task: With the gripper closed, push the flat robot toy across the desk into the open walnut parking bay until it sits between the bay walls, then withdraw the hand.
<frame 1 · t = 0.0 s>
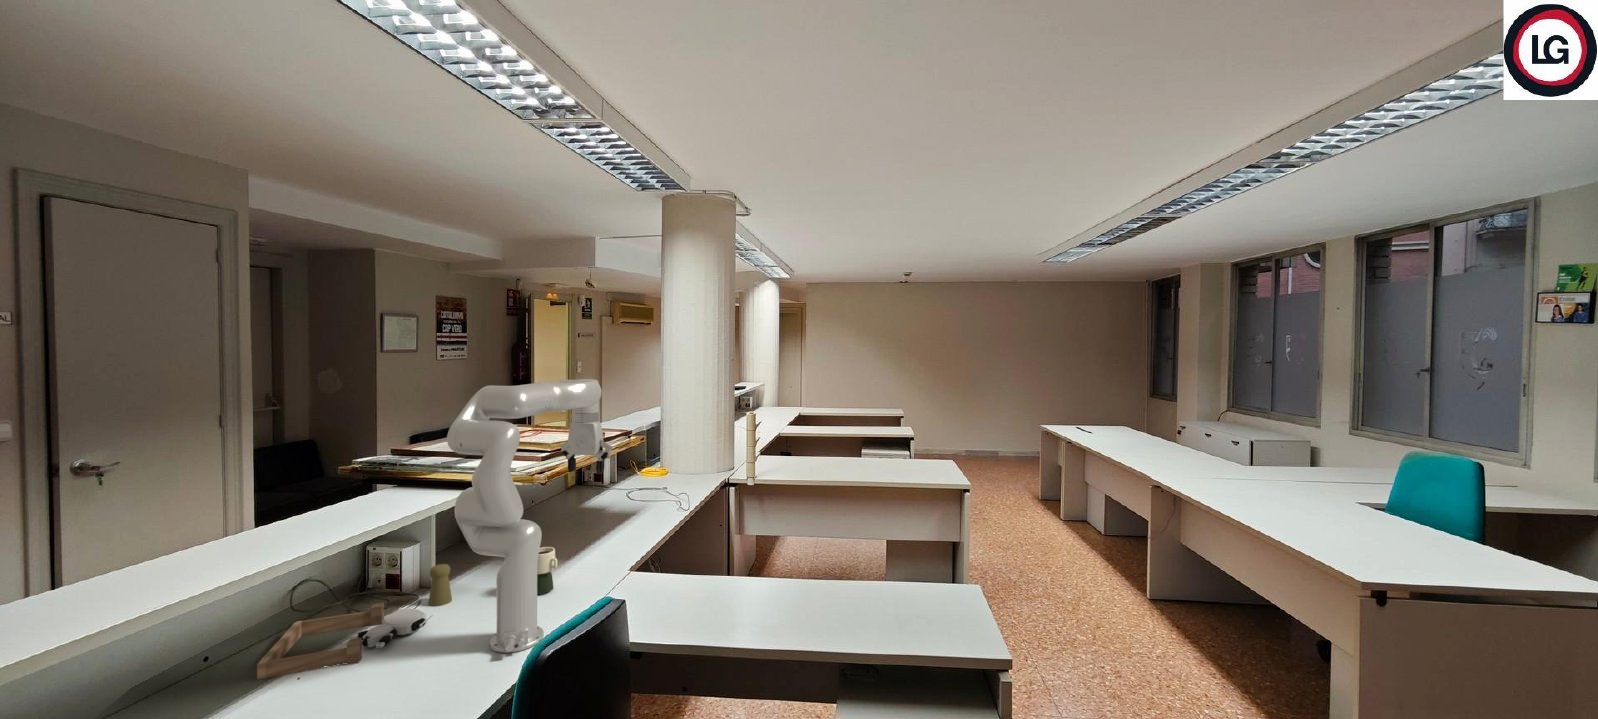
hand: (586, 472, 180), 37 cm above the table, tool pointing down, fingers open, 9 cm apart
character mug: (542, 592, 178), on the table
cork: (440, 602, 170), on the table
parking bay: (326, 647, 144), on the table
robot toy: (392, 638, 150), on the table
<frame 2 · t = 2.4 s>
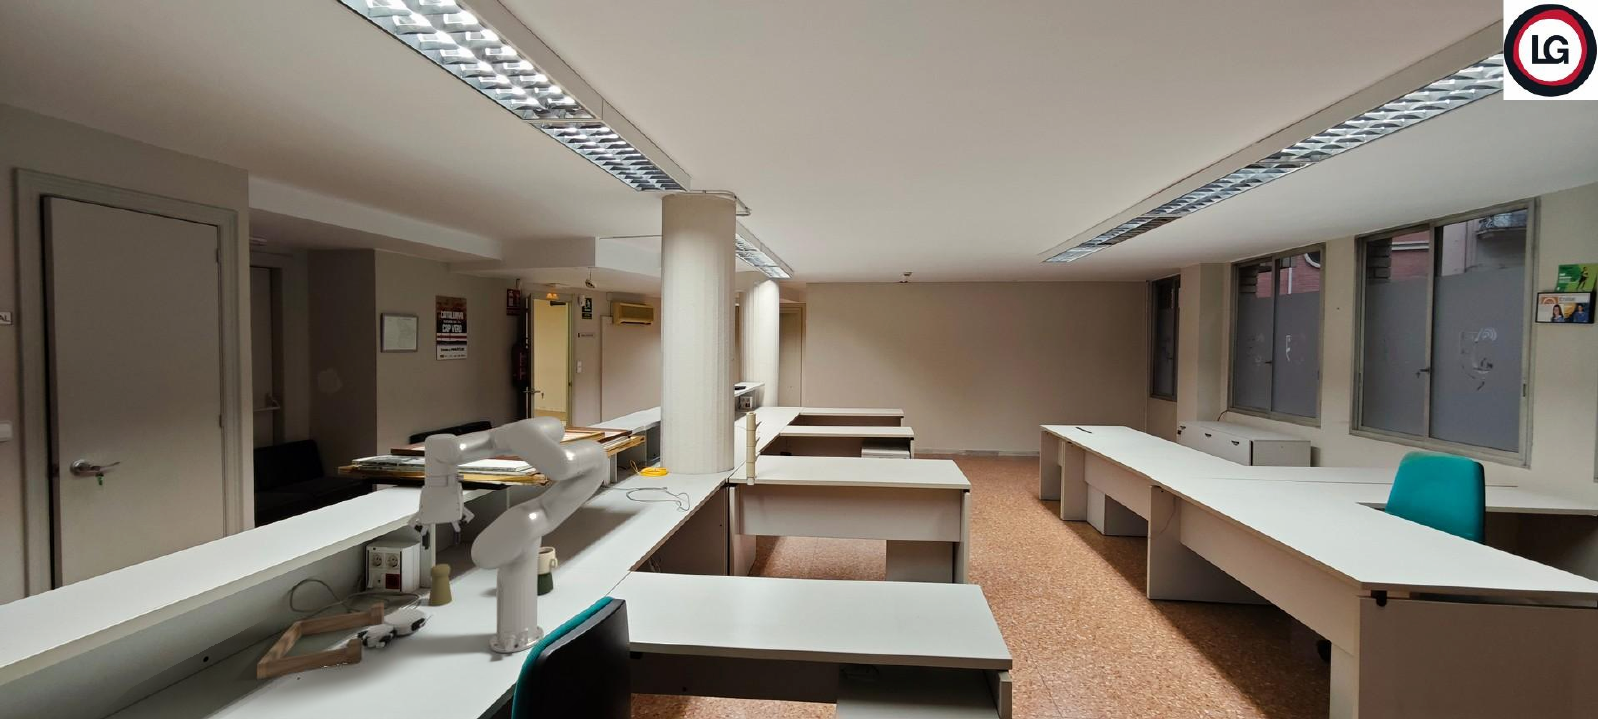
hand: (441, 546, 154), 23 cm above the table, tool pointing down, fingers open, 5 cm apart
nothing on the table moved.
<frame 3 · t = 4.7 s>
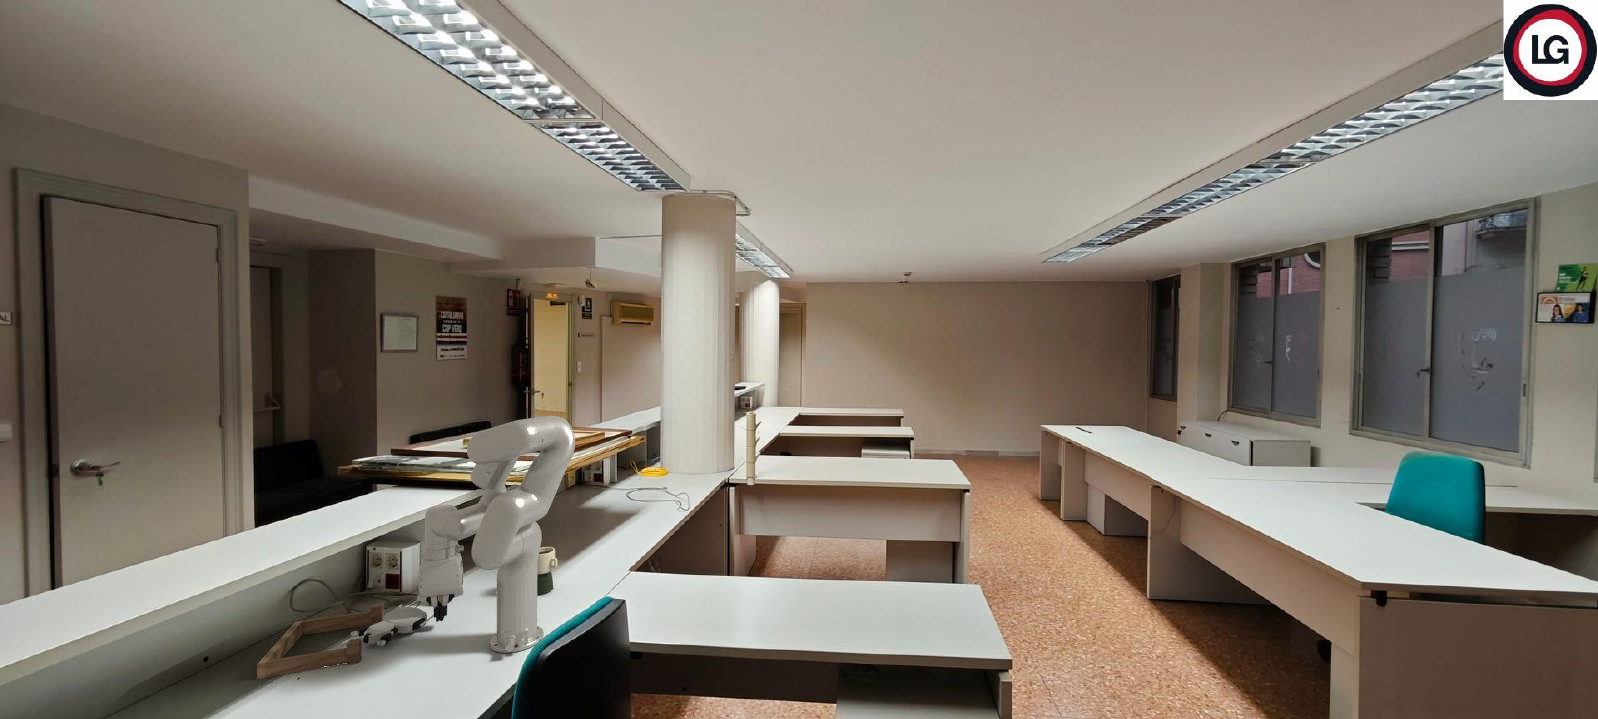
hand: (440, 618, 154), 3 cm above the table, tool pointing down, fingers closed
robot toy: (392, 635, 150), on the table, touching gripper
everything else where it was.
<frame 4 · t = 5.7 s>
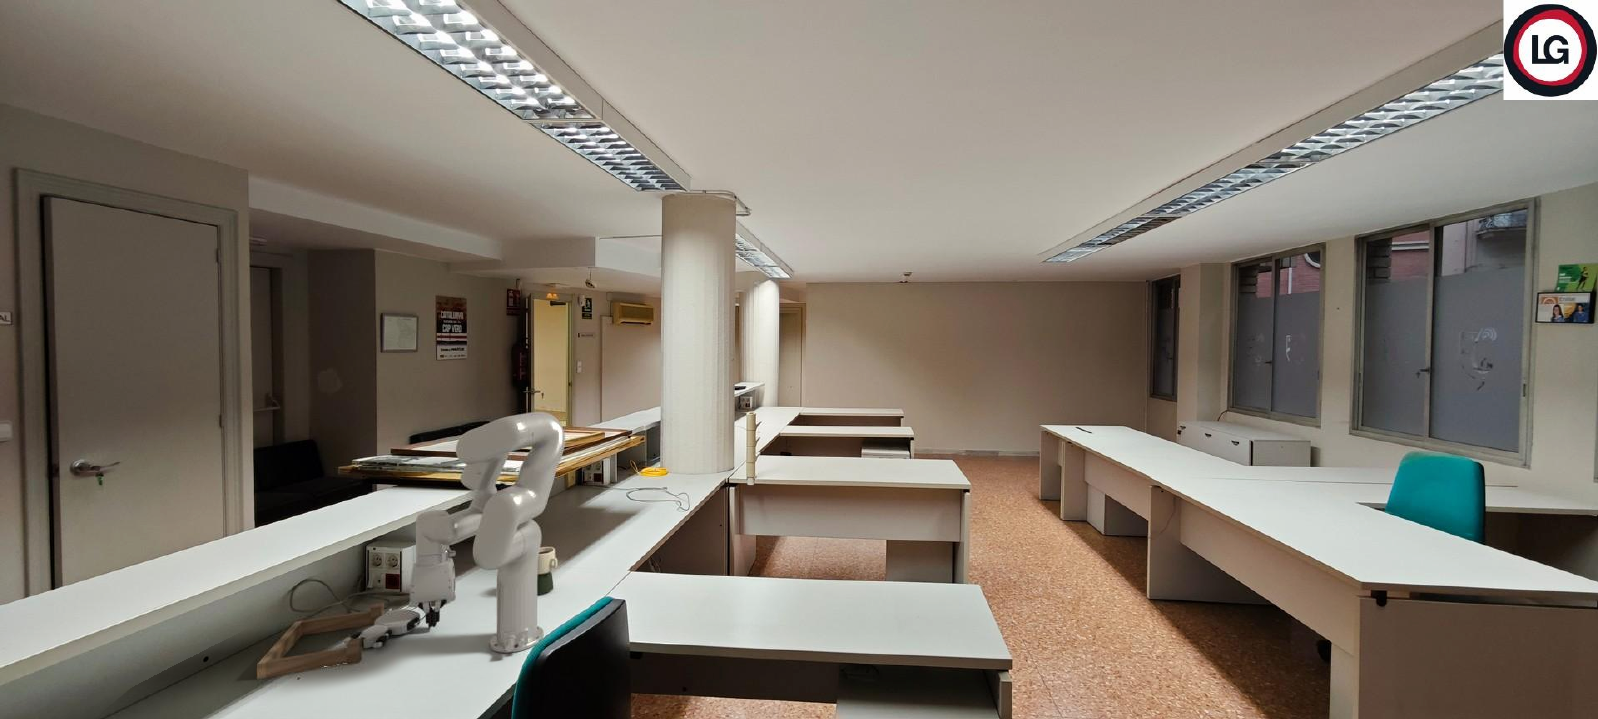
hand: (432, 624, 153), 1 cm above the table, tool pointing down, fingers closed
robot toy: (386, 638, 149), on the table, touching gripper
everything else where it was.
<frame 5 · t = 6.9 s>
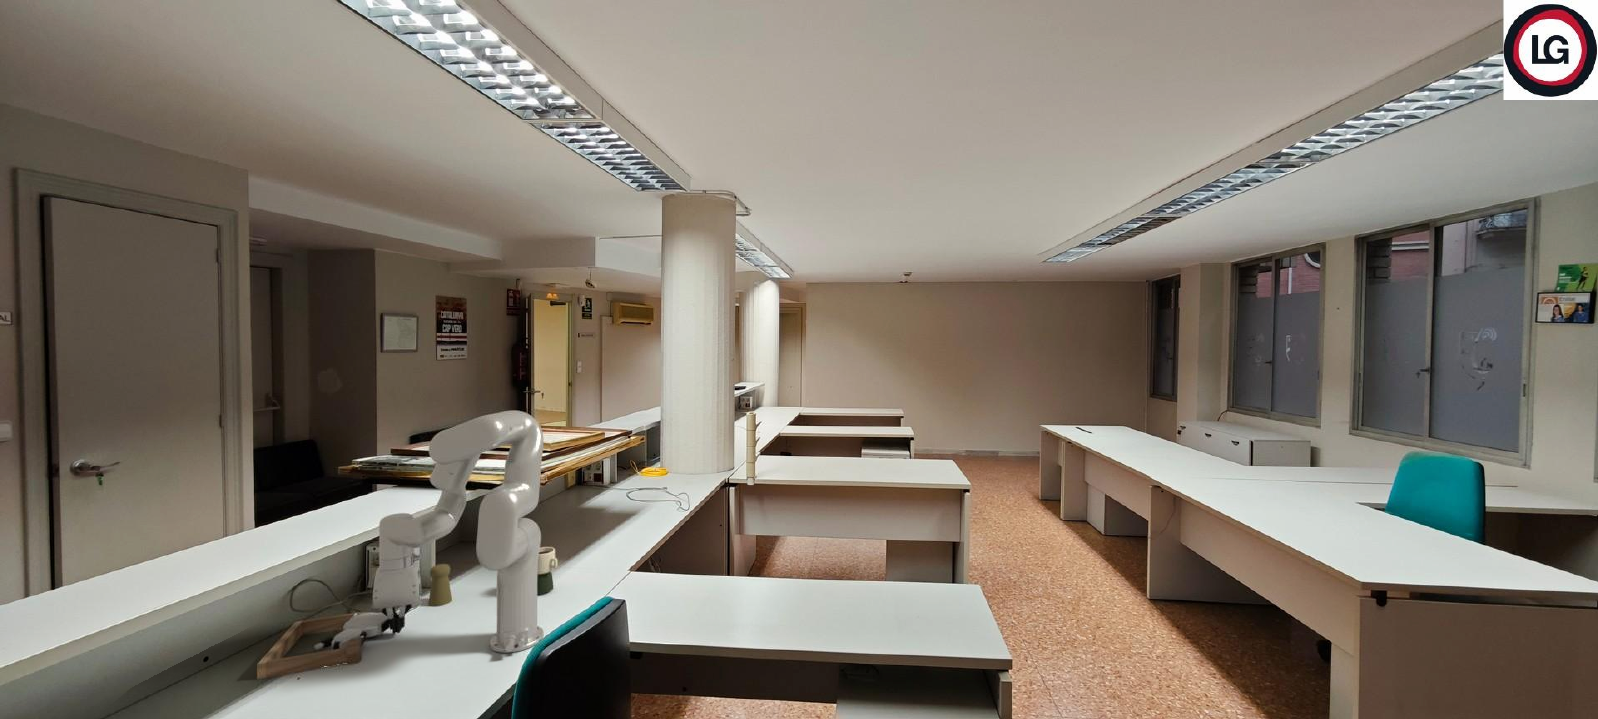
hand: (397, 630, 150), 1 cm above the table, tool pointing down, fingers closed
robot toy: (358, 642, 147), on the table, touching gripper
everything else where it was.
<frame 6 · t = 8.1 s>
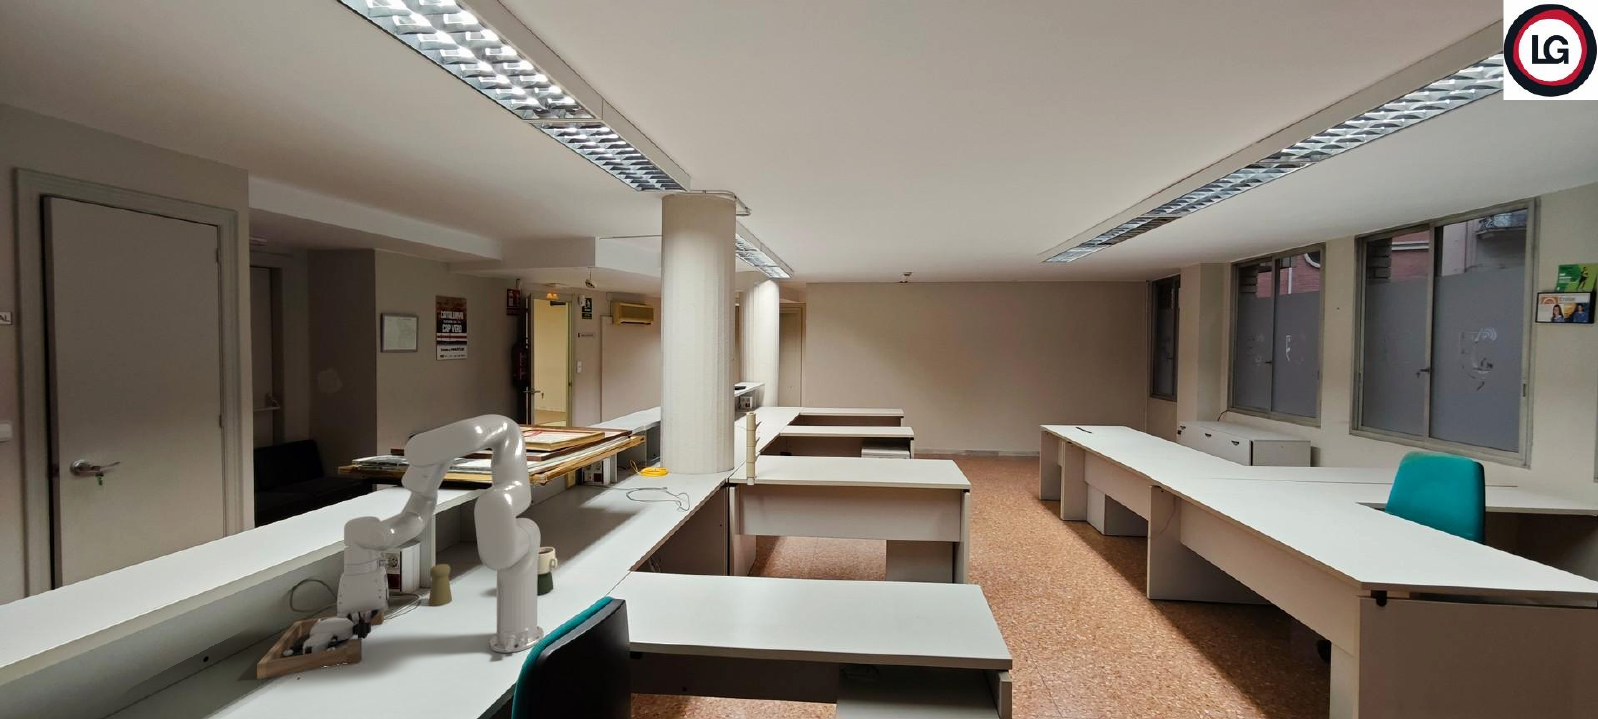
hand: (363, 636, 147), 1 cm above the table, tool pointing down, fingers closed
robot toy: (327, 646, 145), on the table, touching gripper
everything else where it was.
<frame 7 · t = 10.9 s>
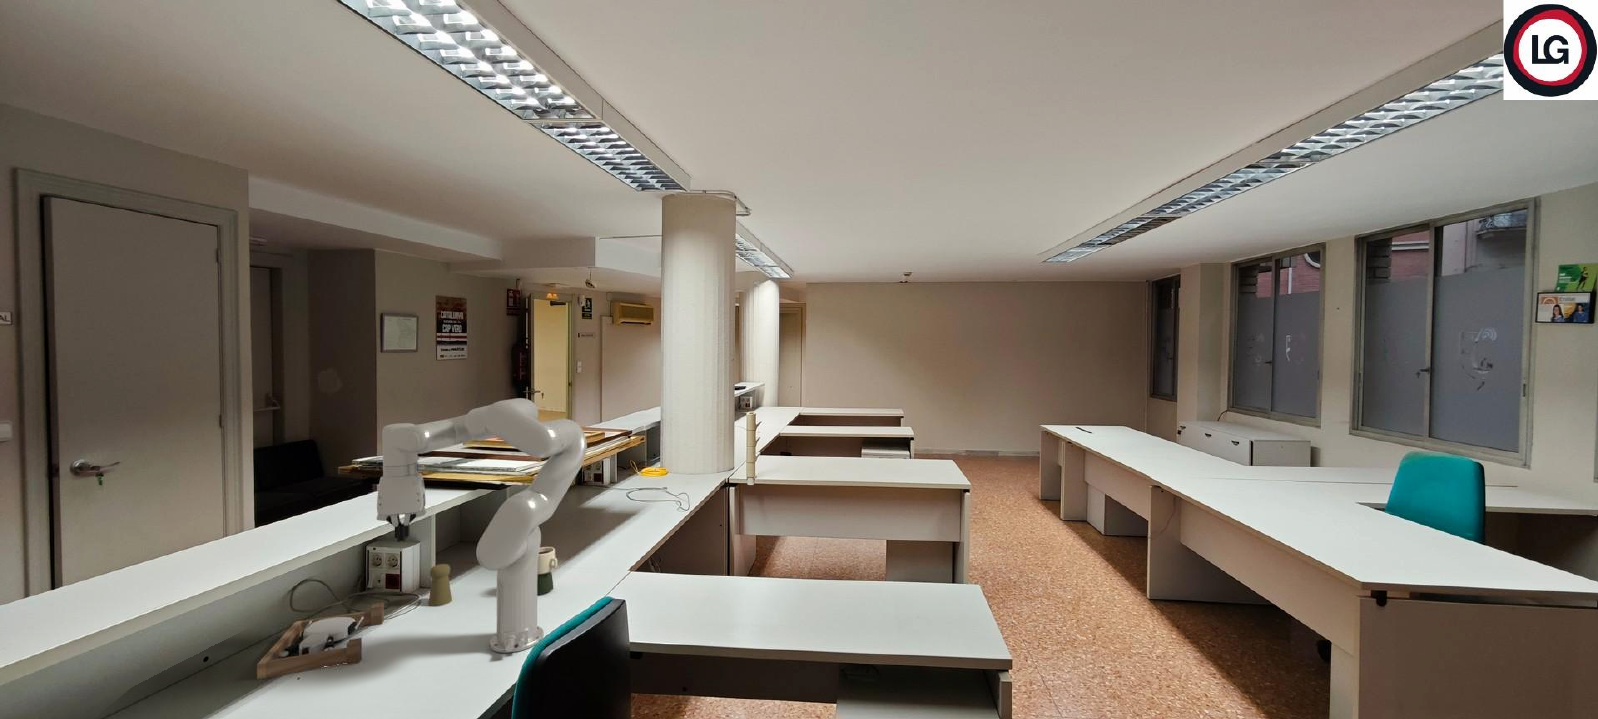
hand: (402, 539, 150), 25 cm above the table, tool pointing down, fingers closed
robot toy: (322, 647, 145), on the table
everything else where it was.
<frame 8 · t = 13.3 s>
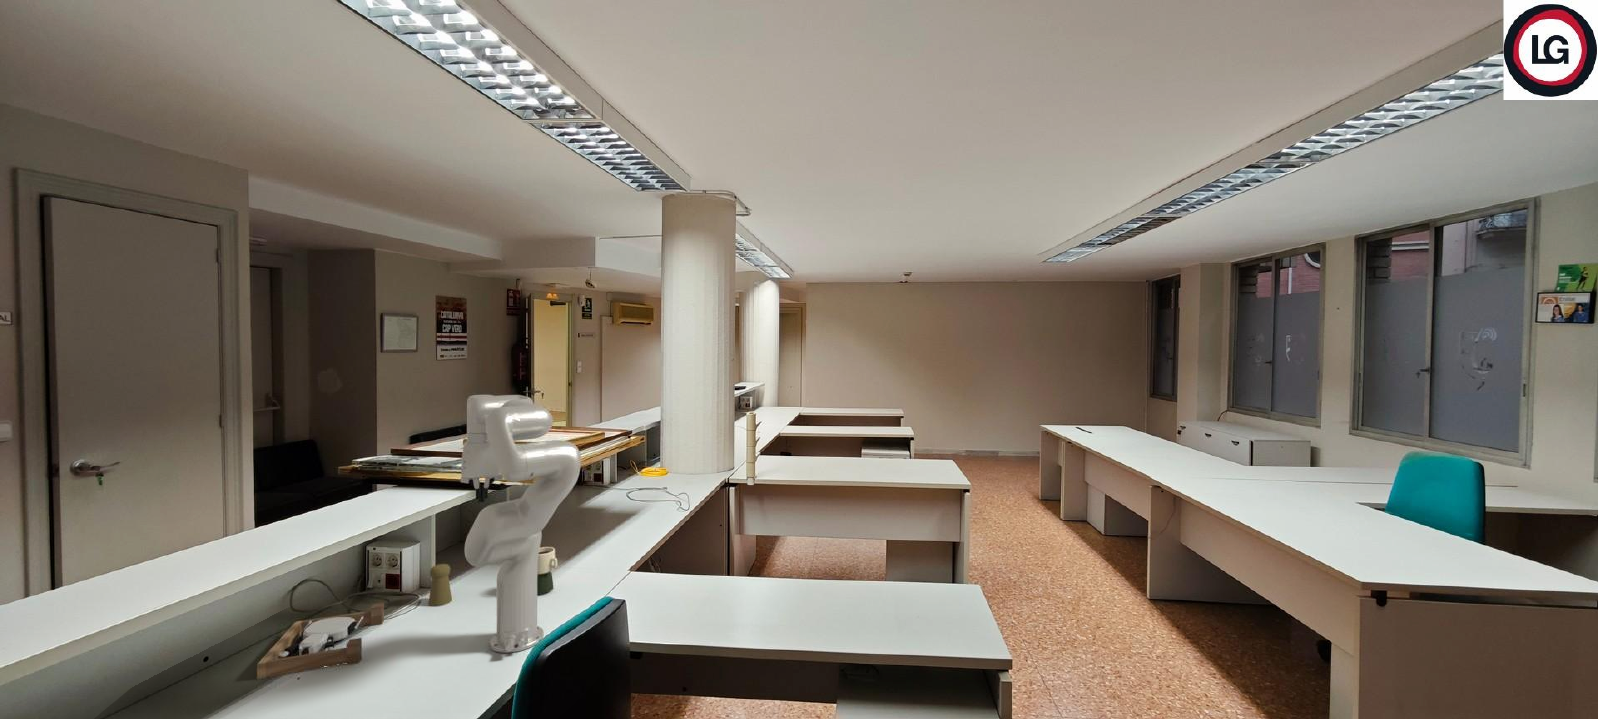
hand: (481, 501, 164), 32 cm above the table, tool pointing down, fingers closed
nothing on the table moved.
at the end: robot toy inside the target area (1.3 cm from its centre), on the table; robot toy moved 15.2 cm from its start; cork moved 0.2 cm from its start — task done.
